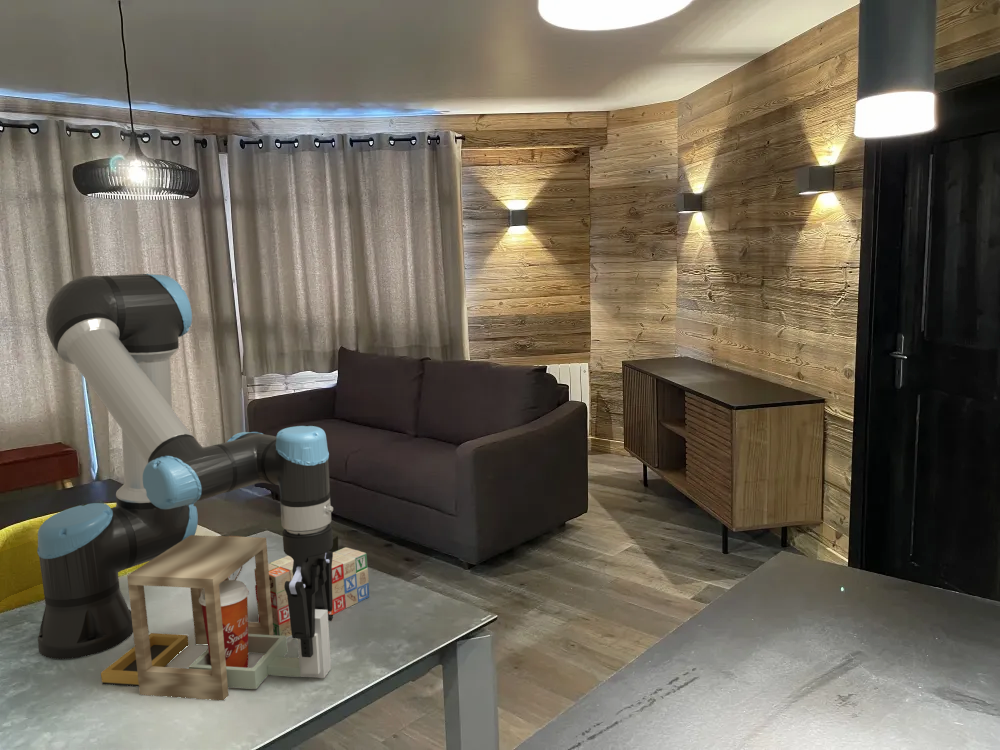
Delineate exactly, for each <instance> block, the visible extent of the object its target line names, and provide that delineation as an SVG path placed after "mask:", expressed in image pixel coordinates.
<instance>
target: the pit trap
mask: <svg viewBox="0 0 1000 750" xmlns="http://www.w3.org/2000/svg"><path fill="white" fill-rule="evenodd" d="M149 641H150V650H151V660H152V666H156V667H167V666H168V665H169V664H170V663H171V662H172V661H173V660H174V659H173V658H174V657H175V656H176V655H177V654H179V652H180V651H182V650H183V649H184V648H185V647H186V646H188V645H189V644H190V643H189V636H188V634H178V633H177V634H176V633H175V634H174V633H158V632H157V633H156V632H150V633H149ZM189 646H190V645H189ZM189 646H188V647H189ZM182 652H183V651H182ZM179 655H180V654H179ZM172 659H173V660H172ZM171 660H172V661H171ZM170 661H171V662H170ZM169 662H170V663H169ZM168 663H169V664H168ZM167 664H168V665H167ZM166 665H167V666H166ZM100 676H101V684H102V686H104V685H105V686H121V687H131V688H132V687H134V688H139V682H138V673H137V663H136V654H135V645H134V646H133V647H132V648H130V649H129V650H128V651H127V652H125V653H124V654H122V656H120V657H119V658H117V660H115V661H113V662H112V663H111V664H110V665H108V667H106V668H105V669H103V670H102V671H101V672H100Z"/></svg>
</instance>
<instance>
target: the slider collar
mask: <svg viewBox="0 0 1000 750" xmlns="http://www.w3.org/2000/svg"><path fill="white" fill-rule="evenodd" d="M315 633H318V645H319V661H320V673H319V674H318V675H317V674H304V673H302V665H301V649H300V639H297V647H298V648H297V650H298V657H290V656H289V657H288V656H287V657H285V656H286V655H287V654H288V644H287V643H288V642H287V641H288V640H287V638H286V636H279V635H261V634H248V654H263V656H262V657H261V658H260V659H259V660H258V661H257V662H256V663H255V665H253V666H252V667H248V668H244V667H228V666H226V671H227V683H228V688H233V689H247V690H249V689H251V690H256V689H258V687H259V686H260V685H261V684H262V683H263V681H264V680H265V679H266V678H267V677H268V676H280V677H293V678H295V677H296V678H301V677H303V678H319V679H324V678H326V676H327V674H328V673H329V671H330V670H331V669H332V658H331V644H330V629H329V621H328V610H322V609H315ZM188 669H202V670H212V668H211V662H210V656H209V650H208V648H207V649H206V650H205V651H204V652H202V653H201V654H200V656H198V657H197V658H196V659H195V660H194V661H193V662H192V663H191V664H190V665H189V666H188Z"/></svg>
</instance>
